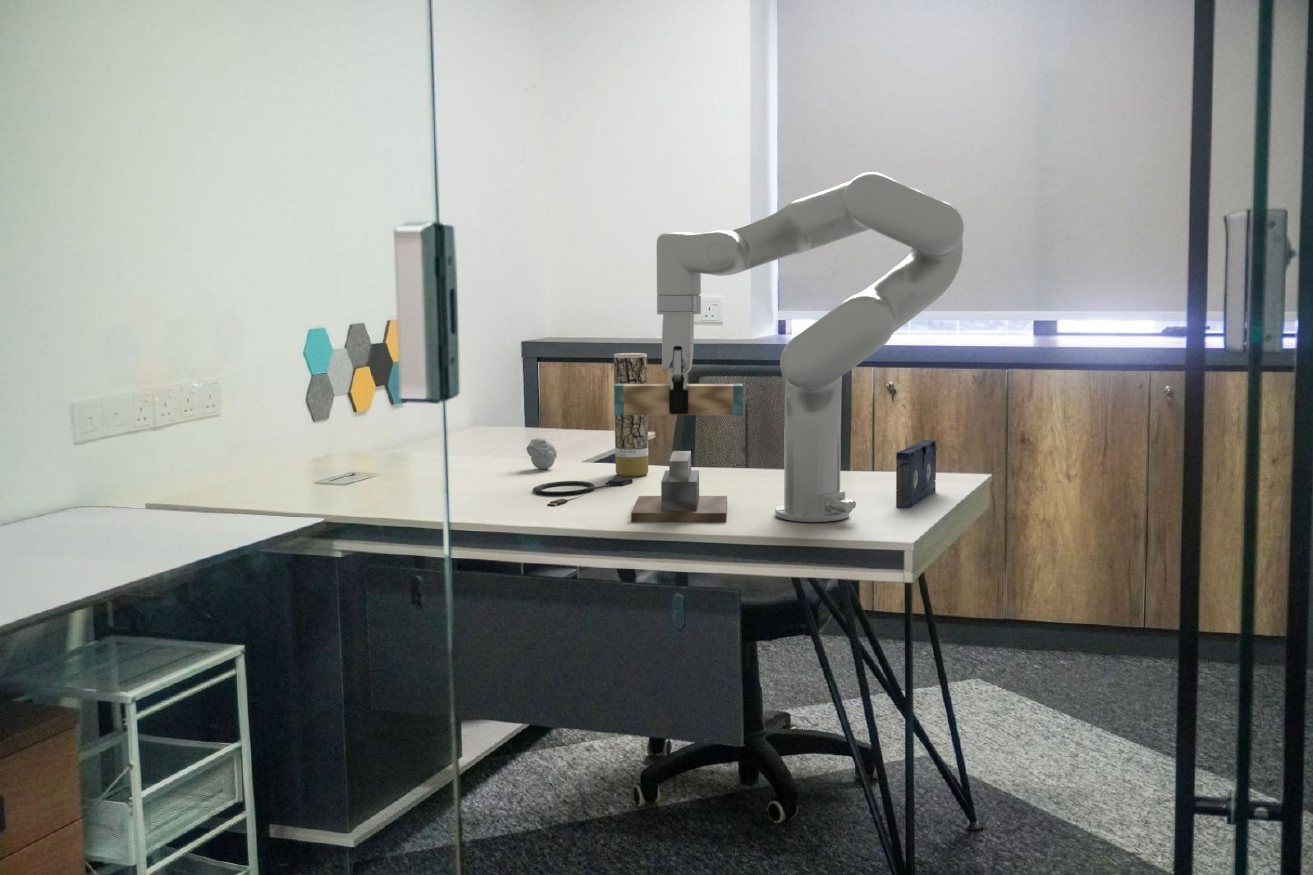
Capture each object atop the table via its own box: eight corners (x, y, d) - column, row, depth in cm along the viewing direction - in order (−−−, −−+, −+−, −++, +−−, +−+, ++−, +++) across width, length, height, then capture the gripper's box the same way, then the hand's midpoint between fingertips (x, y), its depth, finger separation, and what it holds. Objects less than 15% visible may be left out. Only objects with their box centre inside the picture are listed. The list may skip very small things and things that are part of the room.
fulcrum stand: (727, 504, 228) (727, 449, 227) (726, 521, 213) (725, 463, 211) (638, 504, 230) (638, 449, 228) (631, 521, 214) (630, 463, 212)
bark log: (644, 477, 258) (643, 355, 254) (612, 477, 259) (610, 355, 256) (651, 472, 264) (650, 353, 261) (619, 471, 266) (617, 352, 262)
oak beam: (742, 412, 220) (742, 383, 219) (742, 415, 216) (742, 385, 215) (616, 412, 222) (616, 383, 221) (614, 415, 217) (614, 385, 217)
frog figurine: (520, 470, 269) (519, 437, 268) (544, 466, 275) (543, 434, 274) (540, 473, 265) (540, 440, 265) (564, 468, 271) (563, 436, 270)
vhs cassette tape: (923, 491, 240) (923, 439, 238) (938, 492, 238) (939, 440, 237) (892, 508, 224) (893, 452, 222) (909, 509, 222) (909, 453, 221)
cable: (495, 503, 235) (494, 495, 235) (577, 480, 259) (577, 473, 259) (555, 509, 228) (555, 501, 228) (634, 485, 253) (634, 478, 252)
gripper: (660, 304, 225) (660, 406, 227) (653, 307, 208) (654, 417, 211) (702, 304, 224) (702, 406, 227) (699, 307, 208) (699, 418, 210)
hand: (679, 411), depth 219 cm, fingers closed on oak beam, 4 cm apart
